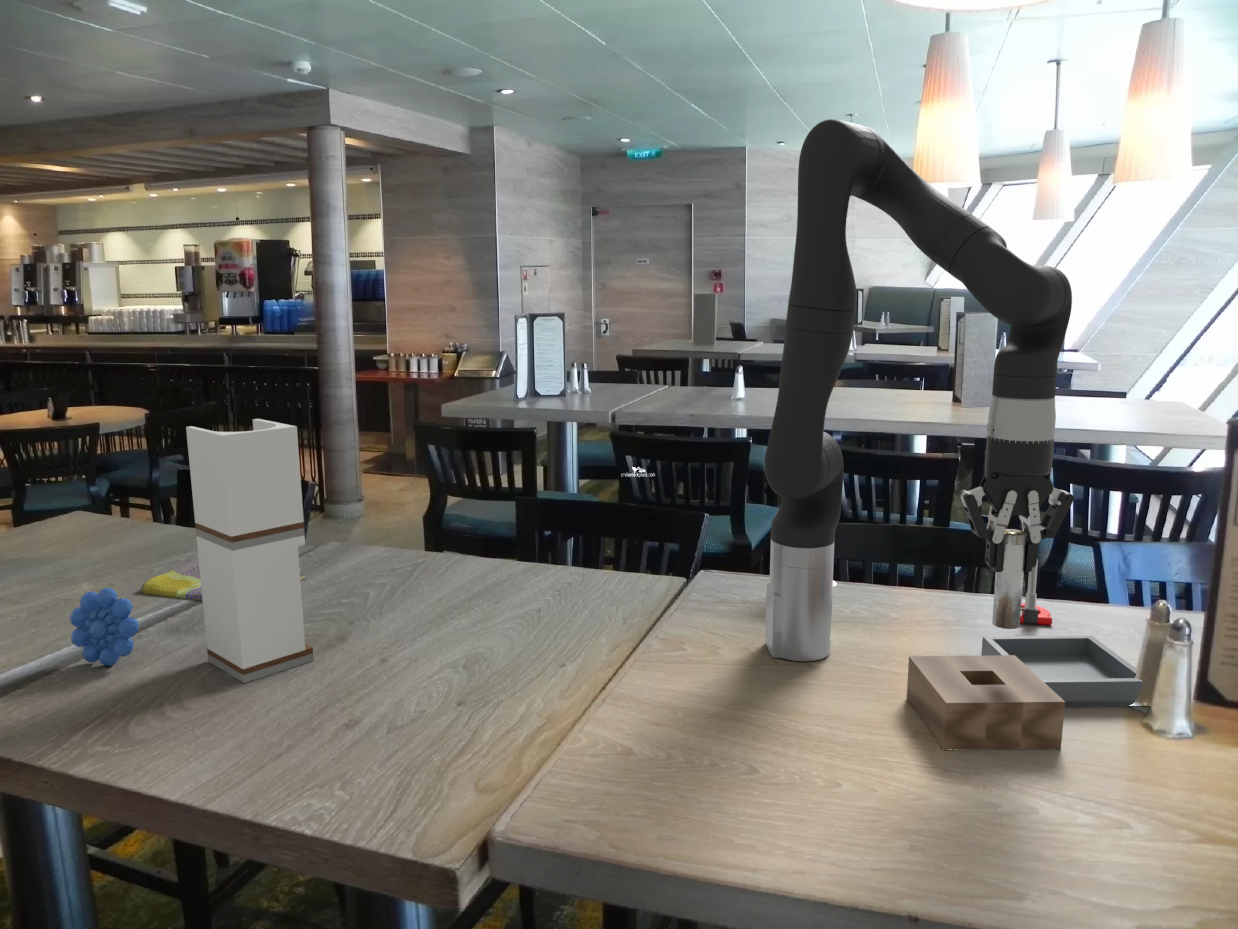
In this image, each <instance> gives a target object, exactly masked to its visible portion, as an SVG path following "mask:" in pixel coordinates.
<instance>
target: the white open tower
mask: <svg viewBox="0 0 1238 929" xmlns="http://www.w3.org/2000/svg"><path fill="white" fill-rule="evenodd" d="M252 427H253V428H252V429H253V430H247V431H217V430H216V431H214V430H212V429H211V430H210V429H206V428H202V427H197V426H192V425H190V426H186V427H185V430H186V441H187V450H188V460H189V461H188V462H189V471H190V472H189V473H190V482H191V491H192V492H191V493H192V494H191V495H192V503H193V504H192V505H193V513H194V515H193V516H194V524H195V525H194V526H195V534H196V535H195V537H196V544H197V545H196V547H197V557H198V558H197V559H199V569H200V580H201V590H202V611H203V619H204V630H205V642H206V650H207V651H206V652H207V661H208V662H209V663H210V664H211V665H214V666H216V668H219V669H220V670H222V671H224V672H225V673H227V674H228V675H230V676H232V677H233V678H235V679H237V680H239V681H240V682H242V683H243V684H246V683H248V682H251V681H254V680H258V679H261V678H264V677H267V676H270V675H273V674H277V673H280V672H283V671H286V670H289V669H292V668H295V667H299V666H302V665H304V664H308V663H311V662H314V661H315V660H314V647H312V646H310V645H308V644H306V640H305V636H306V635H305V624H304V611H303V598H302V584H301V581H300V576H301V573H300V568H301V567H300V558H299V557H300V556H299V547H300V546H305V545H306V538H305V537H306V536H305V534H306V533H305V521H304V509H303V508H304V507H303V493H302V492H303V491H302V480H301V479H302V478H301V466H300V464H301V463H300V454H299V453H300V451H299V437H298V435H299V434H298V426H296V425H291V424H288V423H287V424H286V423H281V422H278V421H272V420H266V419H263V418H255V419H253V418H252Z"/></svg>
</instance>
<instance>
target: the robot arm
mask: <svg viewBox="0 0 1238 929" xmlns="http://www.w3.org/2000/svg"><path fill="white" fill-rule="evenodd" d="M799 153H800V154H799V160H798V169H797V170H798V172H797V216H796V218H797V220H796V221H797V222H796V234H795V243H794V244H795V246H794V253H793V263H792V264H793V265H792V276H791V283H790V284H791V285H790V290H789V295H788V296H789V297H788V302H787V303H788V304H787V310H786V317H785V318H786V320H785V328H784V339H783V340H784V341H783V349H782V356H781V364H780V365H781V366H780V374H779V385H778V392H777V393H778V394H777V401H776V404H775V405H776V406H775V410H774V415H773V420H772V423H771V429H770V432H769V437H768V439H767V440H768V441H767V446H766V451H765V455H764V463H763V464H764V465H763V466H764V475H765V477H766V480H767V483H768V485H769V487H770V488H771V490H772V491H773V492H774V493H775V494H776V495H777V496H779V497H780V498H782V499H781V503H780V505H779V506H780V507H779V508H778V510H777V513H776V514H775V515H774V517H773V519H772V521H771V525H770V553H769V554H770V556H769V557H770V558H769V560H770V562H769V583H767V584H766V596H765V597H766V598H765V599H766V600H765V601H766V602H765V606H766V607H765V639H764V643H765V646H766V647H767V650H768V652H769V654H770V656H771V658H778V659H785V660H789V661H795V662H813V661H819V660H822V659H824V658H827V657H828V656H829V655H830V654H831V642H832V637H831V636H832V612H833V611H832V610H833V588H834V587H833V580H834V561H835V560H834V559H835V536H836V529H837V526H838V524H839V522H840V518H841V511H842V502H843V498H842V497H843V489H844V488H843V485H844V473H845V472H844V471H845V470H844V458H843V457H844V456H843V453H842V450H841V447H840V445H839V443H838V442H837V440H836V439H835V438H834V437H833V436H832V435H830V434H829V433H827V432H825V421H826V420H825V419H826V414H827V408H828V405H829V401H830V398H831V395H832V393H833V390H834V387H835V385H836V383H837V381H838V378H839V376H840V374H841V371H842V369H843V367H844V364H845V362H846V360H847V357H848V354H849V351H850V348H851V343H852V338H853V334H854V326H855V320H856V313H857V312H856V310H857V304H858V303H857V302H858V301H857V300H858V299H857V298H858V296H857V295H858V292H857V286H856V280H855V275H854V271H853V266H852V262H851V258H850V255H849V250H848V245H847V232H846V231H847V218H848V212H849V211H848V210H849V206H850V205H849V203H850V197H855V198H857V199H859V200H862V201H864V202H866V203H868V204H870V205H872V206H874V207H876V208H878V209H879V210H881V211H882V212H884V213H885V214H887V215H888V216H889V217H890V218H892V219H893V220H894V221H895V222H896V224H898V225H899V227H900V228H902V230H903V231H904V233H905V234H906V235H907V236H908V238H909V239H910V241H911V242H913V244H914V246H916V247H917V248H918V249H919V250H920V252H922V253H923V254H924V255H925V256H926V257H927V258H929V259H930V260H931V261H932V262H933V263H935V264H937V266H938V267H939V268H942V269H943V270H944V271H945V272H947V273H948V274H950V276H952V277H953V278H955V279H956V280H957V281H959V282H960V283H962V284H963V285H964V287H965V288H966V289H967V291H968V292H969V293H970V294H971V295H972V297H974V299H975V300H976V301H977V302H978V303H979V304H980V305H981V306H982V307H983V308H984V309H985V311H987V312H988V313H989V314H990V315H992V316H993V317H994V318H996V319H997V320H999V321H1001V322H1002V323H1004V324H1007V325H1009V326H1010V328H1009V334H1008V339H1007V343H1006V345H1005V346H1004V347H1003V348H1001V350H999V351H998V352H997V354H996V356H995V359H994V365H993V375H992V390H991V399H990V400H991V401H990V405H989V410H988V417H987V424H986V446H985V459H984V460H985V461H984V462H985V464H984V475H983V478H982V480H981V481H980V484H979V486H977V487H974V488H972V489H970V490H966V489H961V490H959V492H958V498H959V501H960V503H961V506H962V509H963V511H964V514H965V518H966V519H967V522H968V525H969V527H970V530H971V532H972V534H974V535H975V536H977V537H978V538H980V539H983V540H985V554H984V555H985V556H984V561H985V562H984V563H985V564H986V565H987V567H988V568H989V569H990V570H991V571H992V572H994V573H996V572H1001V565H1002V552H1003V544H1002V543H1000V542H1001V541H1002V538H1003V535H1004V531H1005V529H1007V528H1006V527H1008V525H1009V522H1010V519H1011V517H1015V516H1018V517H1019V520H1020V522H1021V528H1022V529H1021V531H1024V532H1026V533H1027V537H1026V550H1025V563H1024V573H1029V572H1031V571H1032V567H1035V566H1036V564H1037V559H1038V550H1039V544H1040V541H1042V540H1046V539H1053V538H1055V537H1056V535H1057V533H1058V531H1059V529H1060V527H1061V526H1062V524H1063V522H1064V521H1065V518H1066V516H1067V514H1068V512H1069V510H1070V508H1071V506H1072V505H1073V503H1074V500H1075V497H1074V496H1075V495H1074V494H1072V493H1070V492H1069V491H1066V490H1063V489H1058V488H1056V487H1054V483H1053V482H1052V478H1051V474H1052V470H1053V457H1054V456H1053V455H1054V444H1055V431H1056V423H1057V422H1056V421H1057V415H1056V413H1057V412H1056V390H1057V380H1058V378H1057V377H1058V361H1059V358H1060V353H1061V351H1062V348H1063V346H1064V345H1063V344H1064V341H1065V339H1066V338H1065V337H1066V334H1067V330H1068V326H1069V322H1070V319H1071V318H1070V317H1071V312H1072V306H1073V294H1072V287H1071V283H1070V281H1069V279H1068V277H1067V276H1066V274H1064V272H1063V271H1061V270H1060V269H1058V268H1056V267H1053V266H1050V265H1033V264H1032V265H1031V264H1029V263H1027V262H1026V261H1024V260H1023V259H1021V258H1020V257H1019V256H1018V255H1016V254H1015V253H1013V252H1012V251H1011V250H1009V249H1008V247H1007V242H1006V240H1005V239H1004V238H1003V236H1001V234H1000V233H998V232H997V231H996V230H995V229H993V228H992V227H991V226H989V225H988V224H986V223H985V222H983V221H982V220H981V219H980V218H978V217H977V216H975V215H974V214H972V213H971V212H970V211H968V210H966V209H965V208H963V207H962V206H961V205H959V204H958V203H957V202H955V201H954V200H952V199H951V198H949V197H948V196H946V195H945V194H943V193H942V192H941V191H940V190H938V189H936V188H935V187H934V186H932V185H931V183H928V182H927V181H926V180H925V179H924V178H923V177H922V176H920V174H918V173H917V172H916V171H915V170H914V169H913V168H912V167H910V166H909V164H907V163H906V161H905V160H904V159H903V158H902V157H901V156H900V155H899V153H897V152H896V151H895V150H894V149H893V148H892V147H891V145H890V144H889V143H888V142H886V140H885V138H883V136H881V135H880V134H879V133H877V131H875V130H874V129H873V128H871V127H869V126H865V125H862V124H858V123H854V122H851V121H847V120H846V121H845V120H841V119H831V118H830V119H825V120H822V121H821V122H818V123H817V124H816V125H815V126H813V127H812V129H811V130H810V131H809V132H808V133H807V135H806V137H805V138H804V141H803V144H802V146H801V150H800V152H799ZM983 497H985V499H986V500H987V502H988V503H989V505H990V507H989V512H988V515H987V518H988V523H987V524H985V523H986V522H985V521H984V518H983V515H982V513H981V509H980V507H981V506H982V504H983V502H982V498H983ZM1047 499H1048V503H1049V505H1048V508H1046V511H1045V512H1044V514H1043V517H1042V519H1041V514H1040V513H1041V512H1040V508H1041V506H1042V505H1043V504H1044V503H1045V501H1046V500H1047ZM986 525H987V526H986Z"/></svg>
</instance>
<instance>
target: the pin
mask: <svg viewBox="0 0 1238 929" xmlns="http://www.w3.org/2000/svg"><path fill="white" fill-rule="evenodd" d="M1026 537H1027V533H1026V532H1024V531H1023V530H1022V529H1021V530H1020V529H1015V528H1005V531H1004V535H1003V538H1002V541H1001V542H1000V543H1002V544H1003V552H1002V565H1001V572H995V578H994V579H995V580H994V591H993V592H994V594H993V604H992V605H993V607H992V621H991V622H992V623H991V624H992V625H993V626H995V627H997V628H1000V629H1007V630H1014V629H1018V628H1020V627H1021V624H1020V615H1022V609H1021V603H1022V601H1023V600H1022V599H1023V586H1024V575H1025V574H1024V573H1025V572H1024V563H1025V550H1026Z"/></svg>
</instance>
